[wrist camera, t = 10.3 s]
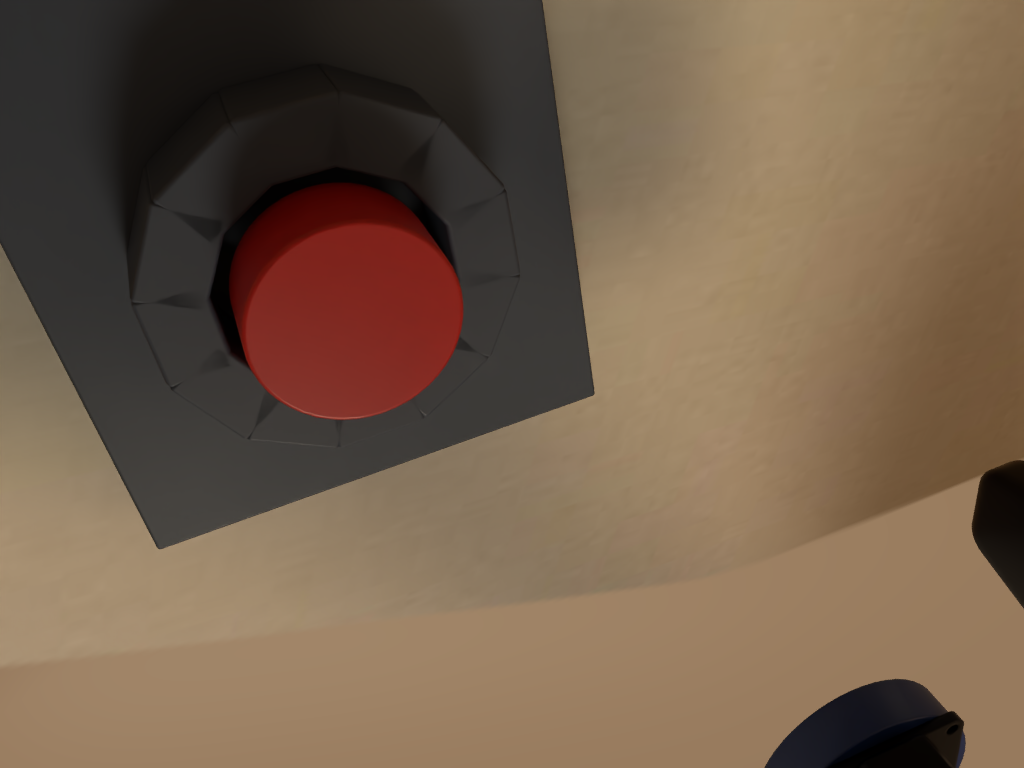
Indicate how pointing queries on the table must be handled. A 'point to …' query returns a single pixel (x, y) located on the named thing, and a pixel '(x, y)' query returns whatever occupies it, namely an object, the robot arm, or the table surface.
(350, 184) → the button
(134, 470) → the button block
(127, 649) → the table surface
